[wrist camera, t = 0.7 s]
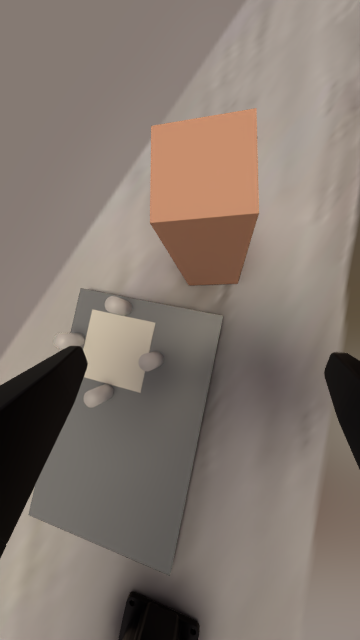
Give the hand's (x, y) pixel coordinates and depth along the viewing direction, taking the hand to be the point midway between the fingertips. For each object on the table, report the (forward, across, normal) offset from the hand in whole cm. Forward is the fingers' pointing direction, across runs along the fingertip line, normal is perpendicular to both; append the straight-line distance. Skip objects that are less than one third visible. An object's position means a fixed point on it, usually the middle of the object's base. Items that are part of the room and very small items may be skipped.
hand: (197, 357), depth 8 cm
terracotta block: (+15, -1, +1) cm, 15 cm away
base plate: (+6, +7, +13) cm, 16 cm away
